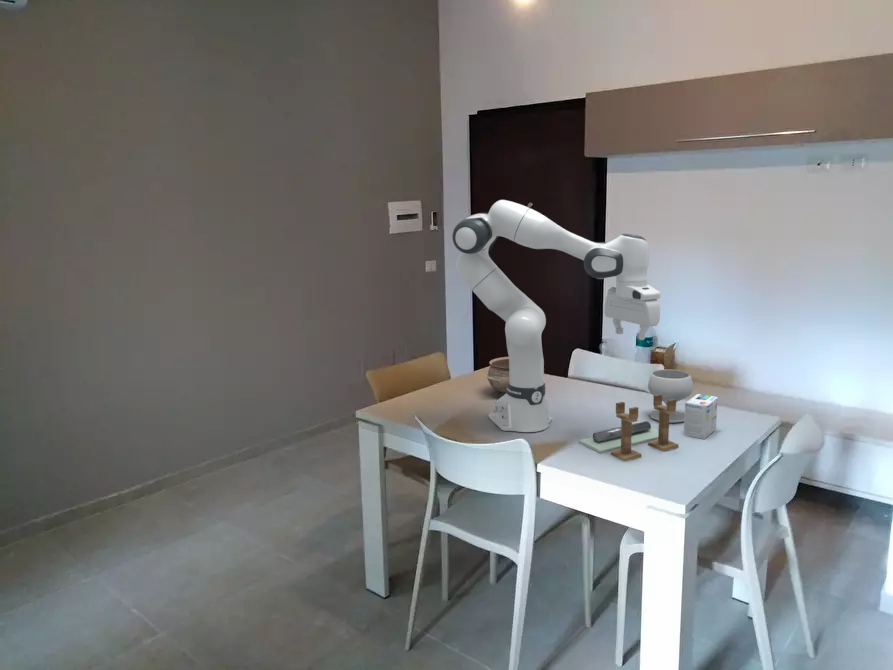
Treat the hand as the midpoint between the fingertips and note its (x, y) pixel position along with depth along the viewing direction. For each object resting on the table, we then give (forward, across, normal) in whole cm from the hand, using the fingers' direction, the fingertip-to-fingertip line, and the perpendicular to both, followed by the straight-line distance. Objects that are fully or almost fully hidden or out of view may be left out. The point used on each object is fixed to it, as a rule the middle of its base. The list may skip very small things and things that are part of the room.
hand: (629, 336), depth 195 cm
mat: (+32, +1, -2) cm, 32 cm away
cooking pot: (+32, -58, -6) cm, 66 cm away
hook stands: (+32, +11, -3) cm, 34 cm away
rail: (+31, +1, -2) cm, 31 cm away
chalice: (+32, -7, +24) cm, 40 cm away
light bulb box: (+32, +8, +22) cm, 39 cm away
